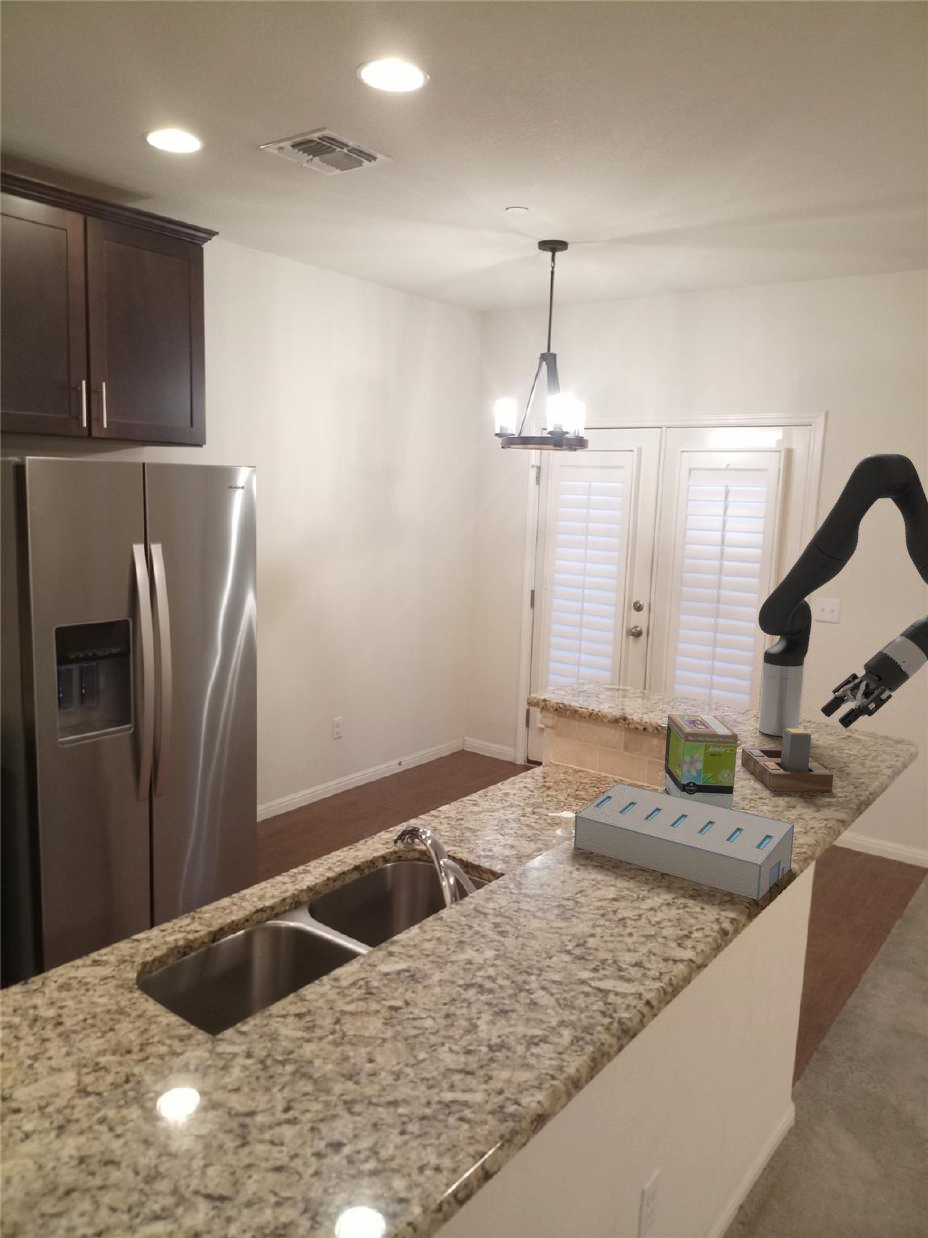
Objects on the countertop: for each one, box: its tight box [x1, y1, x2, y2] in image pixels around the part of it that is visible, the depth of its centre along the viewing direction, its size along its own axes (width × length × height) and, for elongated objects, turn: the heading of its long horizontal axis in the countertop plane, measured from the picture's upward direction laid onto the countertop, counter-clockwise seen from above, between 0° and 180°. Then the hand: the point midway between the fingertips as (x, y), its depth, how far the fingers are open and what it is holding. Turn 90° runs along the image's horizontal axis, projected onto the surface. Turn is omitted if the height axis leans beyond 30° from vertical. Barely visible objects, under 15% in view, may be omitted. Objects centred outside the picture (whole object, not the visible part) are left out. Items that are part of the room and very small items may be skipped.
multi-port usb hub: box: [573, 782, 795, 901], centre depth 140 cm, size 30×14×8 cm, turn 53°
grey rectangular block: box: [780, 728, 812, 772], centre depth 178 cm, size 4×4×10 cm
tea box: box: [663, 713, 739, 809], centre depth 168 cm, size 15×10×15 cm, turn 179°
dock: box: [740, 747, 834, 793], centre depth 183 cm, size 18×12×4 cm, turn 1°
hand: (832, 719), depth 177 cm, fingers open, 8 cm apart
